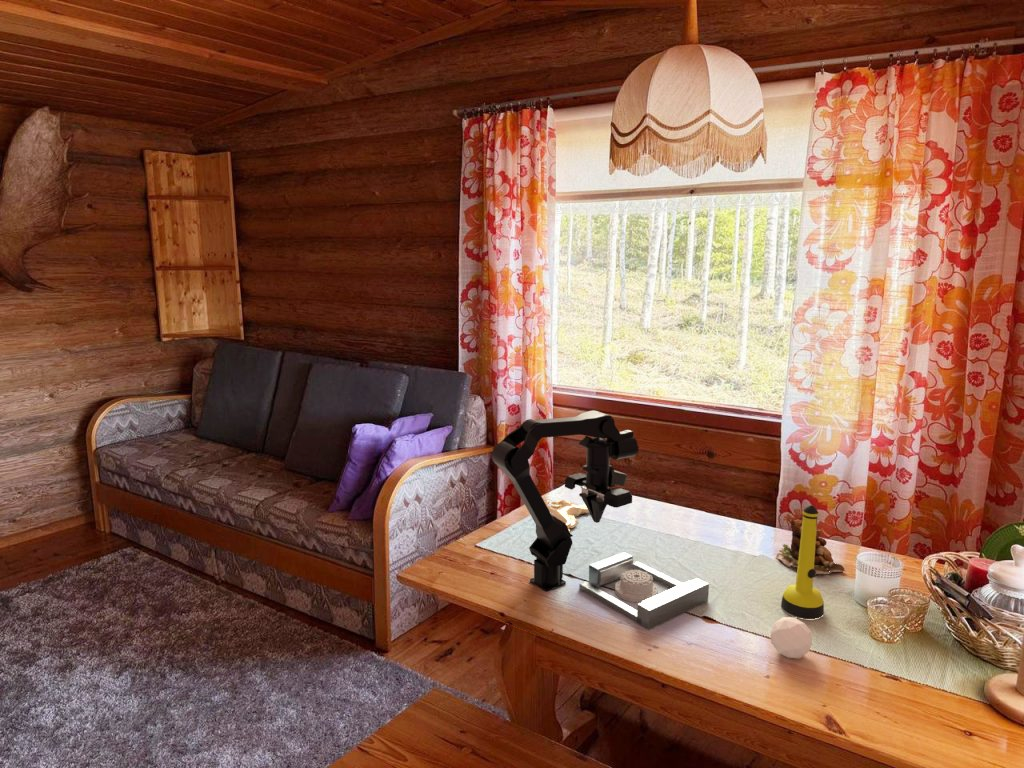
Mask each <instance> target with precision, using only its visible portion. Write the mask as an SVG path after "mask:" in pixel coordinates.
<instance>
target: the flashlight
mask: <svg viewBox="0 0 1024 768" xmlns="http://www.w3.org/2000/svg"><path fill="white" fill-rule="evenodd" d="M819 516H820V515H819V510H818V509H817V508H816V506H814V505H813V504H809V505H806V507H804V509H803V510H802V518H803V522H802V532H801V541H800V550H799V559H798V567H796V568H797V571H796V580H795V583H794V584H793V583H792V584H790V585H788V586H787V587H786V588H785V590H784V591H783V592H782V597H781V604H780V609H781V610H782V611H783V612H784V614H787V616H789V615H790V616H789V617H792V616H793V617H797V618H803V619H815V618H819V617H821V616H822V615H823V614H824V613H825V611H824V609H825V603H824V602H825V601H824V598H823V596H822V594H821V592H820V591H819V590H818V589H817V588H815V587H814V578H816V575H817V574H816V571H815V570H814V559H815V544H816V530H818V529H817V528H818V527H817V525H818V517H819ZM797 618H796V619H797Z"/></svg>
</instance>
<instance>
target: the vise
mask: <svg viewBox="0 0 1024 768" xmlns="http://www.w3.org/2000/svg"><path fill="white" fill-rule="evenodd" d="M635 569H636V570H641V571H643V572H647V574H649V575H652V577H653V581H655V582H657V583H659V584H660V585H661V584H662V585H664V586H665V587H668V588H669V589H667V590H665V591H663V592H660V593H658V595H655V596H653V597H651V598H649V599H646V600H644V601H642V602H638V603H637V609H635V608H634V607H632V606H630V605H628V604H627V603H625V602H624V601H621V600H619V599H618V598H617V597H614V596H612V595H611V594H609V593H607V592H606V591H604V590H602V589H600V588H599V587H596V586H594V585H593V584H591V583H589V581H582V582H580V583H579V591H582V592H583V594H584V593H585V594H586V595H587V596H589V597H591V598H593V599H595V600H596V601H599V602H600V603H601V604H604V605H605V606H607V607H609V608H611V609H612V610H614V611H615V612H617V613H619V614H620V615H622V616H624V617H626V618H627V619H629V620H630V621H633V622H634V623H636V624H637V625H639V626H641V627H643V628H645V629H646V630H648V631H650V630H651V629H654V628H656V627H658V626H659V625H662V624H664V623H666V622H668V621H670V620H673V619H674V618H676V617H679V616H681V615H683V614H685V613H688V612H689V611H692V610H694V609H695V608H697V607H700V606H701V605H704V604H705V603H708V602H709V593H710V591H709V589H710V583H709V582H706V581H704V580H702V579H700V578H698V577H695V578H694V579H691V580H688V581H685V582H681V581H679V580H678V579H675V578H673V577H671V576H669V575H666V574H665V573H663V572H661V571H658V570H656V569H655V568H652V567H650V566H648V565H647V564H644V563H642V562H640V561H635V562H634V561H633V570H635Z"/></svg>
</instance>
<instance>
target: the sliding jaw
mask: <svg viewBox="0 0 1024 768" xmlns="http://www.w3.org/2000/svg"><path fill="white" fill-rule="evenodd" d="M633 563H634V555H631V554H629V553H628V552H625V551H623V552H621V553H617V554H615V555H613V556H610V557H606V558H604V559H602V560H599V561H596V562H593V563H590V564H589V565H588V583H590V584H591V585H593V586H595V587H597V588H599V587H601V586H604V585H607V584H608V583H609V584H610V583H612V582H614V581H616V580H618V579H621V574H623V573H624V571H630V570H631V569H632V570H633Z"/></svg>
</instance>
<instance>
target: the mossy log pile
mask: <svg viewBox="0 0 1024 768" xmlns="http://www.w3.org/2000/svg"><path fill="white" fill-rule="evenodd" d="M802 522H803V516H801V515H799V517H798V519H795V520H794V519H793V518H792V519H791V518H790V520H789V524H790V529H791V532H792V533H791V536H792V537H791V544H790V546H789V545H788V544H781V545H782V547H783V548H781V549H780V550H779V552H778V553H776V557H775V559H777V560H780V561H781V562H782V563H783V564H784V565H785V566H786V567H788V568H791V566H792V567H795V568H798V559H799V550H800V541H801V532H802ZM821 531H822V530H821V529H816V544H815V559H814V570H815V571H816V575H817V574H820V575H829V574H831V573H836V572H837V573H838V572H839V573H843V571H844V572H845V571H846V570H845V567H844V566H843V565H842V564H840V563H836V562H835V561H834V559H833V558H832V552H831V551H830V549H828V548H827V547H826V545H827V541H826V539H825V538H822V537H820V536H821V534H822V532H821ZM834 562H835V563H836V564H835V563H834ZM829 571H830V572H829ZM828 573H829V574H828Z"/></svg>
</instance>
